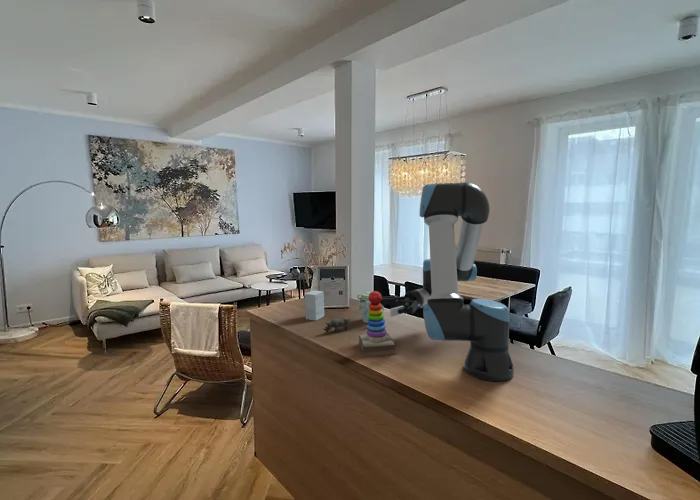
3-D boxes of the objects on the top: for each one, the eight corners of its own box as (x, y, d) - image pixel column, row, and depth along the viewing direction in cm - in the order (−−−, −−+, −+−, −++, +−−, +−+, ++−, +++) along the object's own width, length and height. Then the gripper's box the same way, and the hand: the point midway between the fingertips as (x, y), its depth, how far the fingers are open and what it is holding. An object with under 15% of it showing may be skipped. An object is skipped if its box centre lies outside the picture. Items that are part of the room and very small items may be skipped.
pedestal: (395, 354, 132) (395, 343, 132) (363, 356, 131) (363, 346, 131) (388, 342, 144) (388, 332, 144) (359, 344, 143) (358, 334, 143)
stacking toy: (387, 335, 141) (386, 288, 138) (387, 343, 133) (386, 293, 131) (367, 335, 141) (366, 289, 139) (366, 342, 134) (365, 294, 131)
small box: (314, 314, 184) (313, 290, 182) (324, 316, 181) (323, 291, 179) (305, 319, 177) (304, 293, 175) (316, 320, 174) (315, 294, 172)
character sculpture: (348, 318, 177) (347, 291, 175) (366, 313, 183) (366, 288, 181) (372, 329, 160) (372, 299, 159) (392, 323, 167) (392, 295, 165)
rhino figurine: (320, 333, 156) (320, 320, 156) (347, 327, 163) (347, 314, 163) (324, 336, 153) (324, 322, 152) (352, 329, 160) (351, 316, 159)
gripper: (440, 314, 140) (401, 326, 127) (395, 301, 160) (358, 311, 147) (440, 295, 139) (401, 306, 127) (395, 285, 159) (358, 293, 146)
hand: (378, 308), depth 137 cm, fingers open, 13 cm apart
